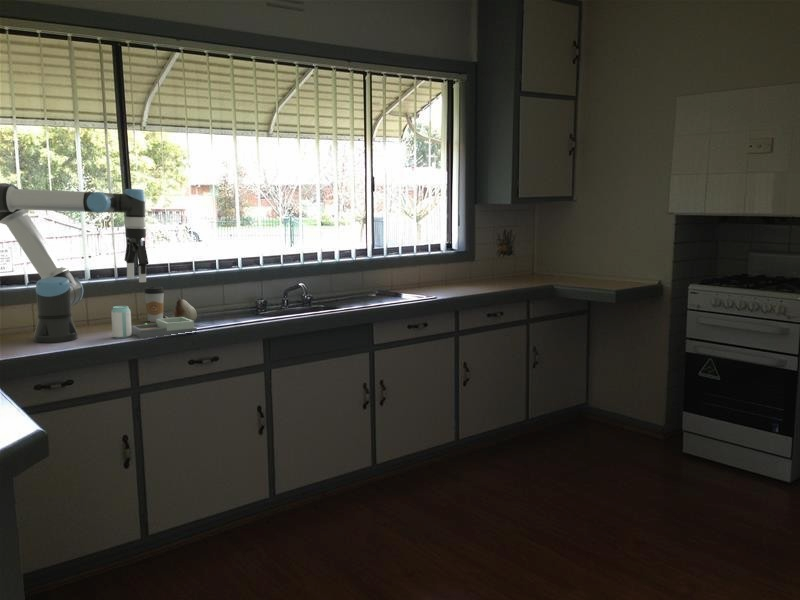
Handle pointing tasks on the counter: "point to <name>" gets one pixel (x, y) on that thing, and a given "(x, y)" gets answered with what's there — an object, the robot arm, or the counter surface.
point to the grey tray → (164, 327)
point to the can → (121, 322)
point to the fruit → (184, 310)
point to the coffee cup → (154, 303)
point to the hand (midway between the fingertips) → (136, 280)
